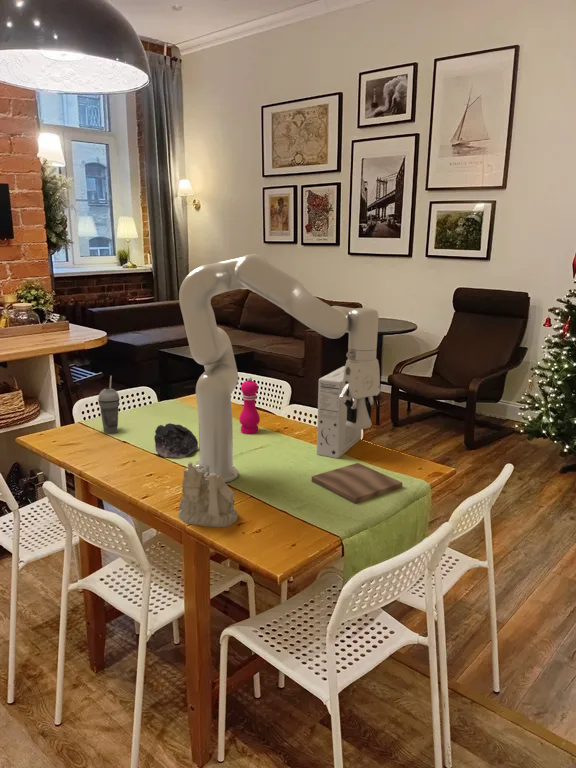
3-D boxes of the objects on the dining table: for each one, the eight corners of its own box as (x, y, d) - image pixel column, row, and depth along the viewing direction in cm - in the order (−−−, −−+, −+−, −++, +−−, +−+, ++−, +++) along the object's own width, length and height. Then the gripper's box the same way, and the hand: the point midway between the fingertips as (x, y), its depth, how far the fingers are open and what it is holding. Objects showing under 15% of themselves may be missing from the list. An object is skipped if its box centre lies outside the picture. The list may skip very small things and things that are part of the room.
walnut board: (355, 503, 156) (355, 498, 156) (311, 481, 170) (311, 476, 170) (402, 487, 167) (402, 482, 166) (357, 467, 180) (357, 462, 180)
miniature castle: (225, 530, 141) (224, 469, 138) (165, 521, 146) (163, 462, 144) (252, 507, 155) (252, 452, 152) (197, 499, 161) (195, 445, 158)
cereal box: (340, 435, 209) (343, 365, 203) (361, 438, 206) (364, 368, 200) (316, 454, 190) (318, 378, 184) (338, 458, 187) (341, 381, 181)
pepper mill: (259, 434, 208) (259, 379, 204) (238, 434, 209) (238, 378, 204) (260, 428, 216) (260, 374, 211) (240, 427, 216) (240, 374, 211)
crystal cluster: (206, 453, 193) (206, 422, 191) (173, 461, 182) (173, 429, 181) (178, 446, 201) (178, 417, 200) (146, 454, 190) (145, 423, 189)
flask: (363, 431, 159) (365, 395, 157) (340, 426, 163) (341, 391, 161) (376, 425, 165) (378, 390, 162) (353, 420, 169) (355, 386, 167)
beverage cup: (102, 428, 213) (98, 373, 208) (123, 427, 214) (120, 373, 209) (98, 434, 206) (94, 378, 201) (119, 434, 207) (116, 378, 202)
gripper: (348, 360, 151) (345, 429, 156) (394, 354, 161) (390, 418, 166) (328, 355, 157) (326, 421, 162) (374, 349, 167) (371, 411, 172)
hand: (358, 419), depth 164 cm, fingers closed on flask, 4 cm apart
